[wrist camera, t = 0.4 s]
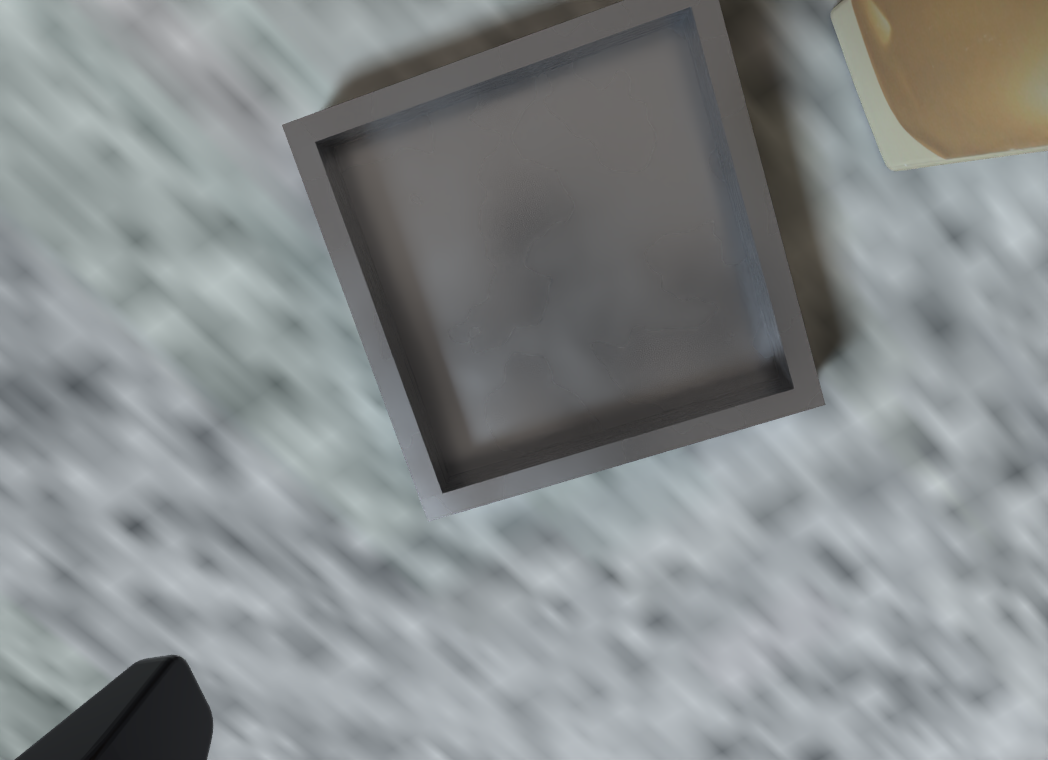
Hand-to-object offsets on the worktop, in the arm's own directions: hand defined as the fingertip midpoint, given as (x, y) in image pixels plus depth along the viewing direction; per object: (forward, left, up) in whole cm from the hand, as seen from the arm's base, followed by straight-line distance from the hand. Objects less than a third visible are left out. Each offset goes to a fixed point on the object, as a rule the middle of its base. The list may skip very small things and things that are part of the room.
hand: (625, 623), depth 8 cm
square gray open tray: (+3, 0, -13) cm, 14 cm away
